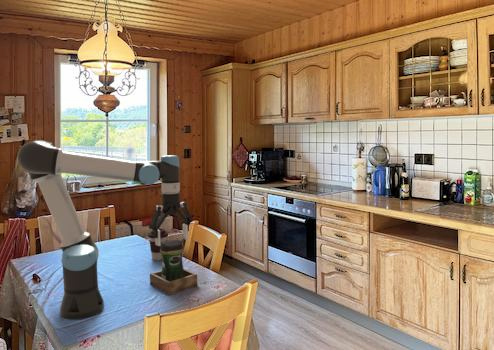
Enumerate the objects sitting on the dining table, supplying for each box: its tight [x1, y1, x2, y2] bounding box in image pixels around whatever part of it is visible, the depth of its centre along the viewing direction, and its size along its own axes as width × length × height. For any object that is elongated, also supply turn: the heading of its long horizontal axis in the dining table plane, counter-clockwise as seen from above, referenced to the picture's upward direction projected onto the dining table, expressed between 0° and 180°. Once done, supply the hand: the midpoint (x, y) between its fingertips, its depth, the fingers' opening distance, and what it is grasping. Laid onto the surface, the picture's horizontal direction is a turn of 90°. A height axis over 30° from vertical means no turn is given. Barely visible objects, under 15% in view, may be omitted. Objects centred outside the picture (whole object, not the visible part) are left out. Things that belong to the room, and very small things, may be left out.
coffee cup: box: [147, 228, 169, 261], centre depth 212 cm, size 10×10×15 cm
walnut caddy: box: [149, 267, 198, 296], centre depth 177 cm, size 14×15×5 cm
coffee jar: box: [160, 238, 184, 281], centre depth 176 cm, size 10×8×19 cm
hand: (171, 242), depth 175 cm, fingers open, 13 cm apart
